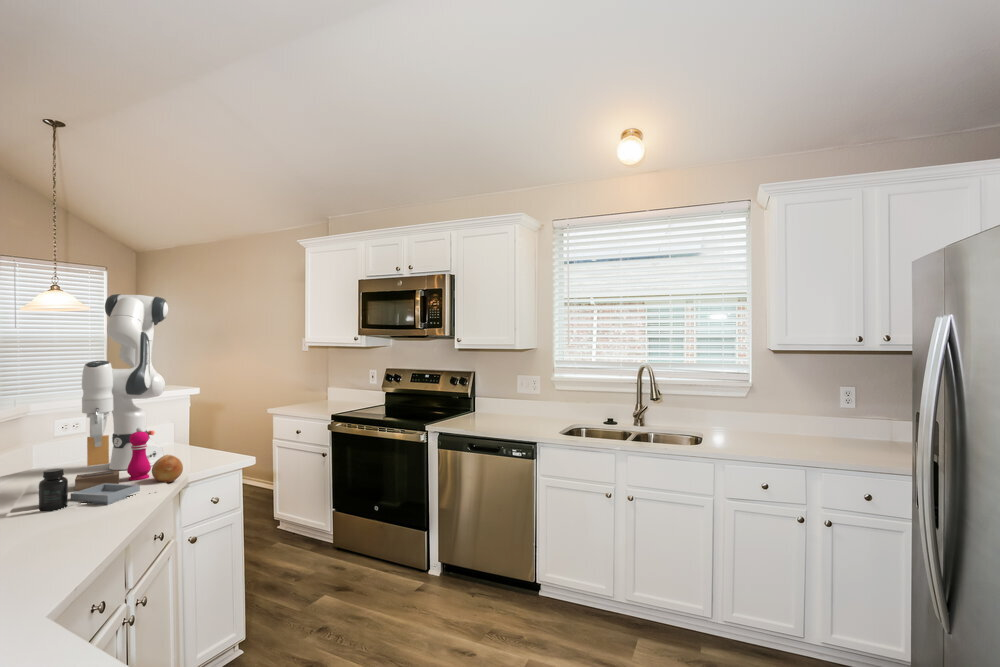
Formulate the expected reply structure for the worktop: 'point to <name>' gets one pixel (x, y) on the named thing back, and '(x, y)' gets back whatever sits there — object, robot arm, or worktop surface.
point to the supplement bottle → (53, 490)
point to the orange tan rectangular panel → (98, 451)
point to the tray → (105, 493)
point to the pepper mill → (139, 456)
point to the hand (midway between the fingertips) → (98, 445)
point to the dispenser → (96, 479)
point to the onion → (167, 469)
